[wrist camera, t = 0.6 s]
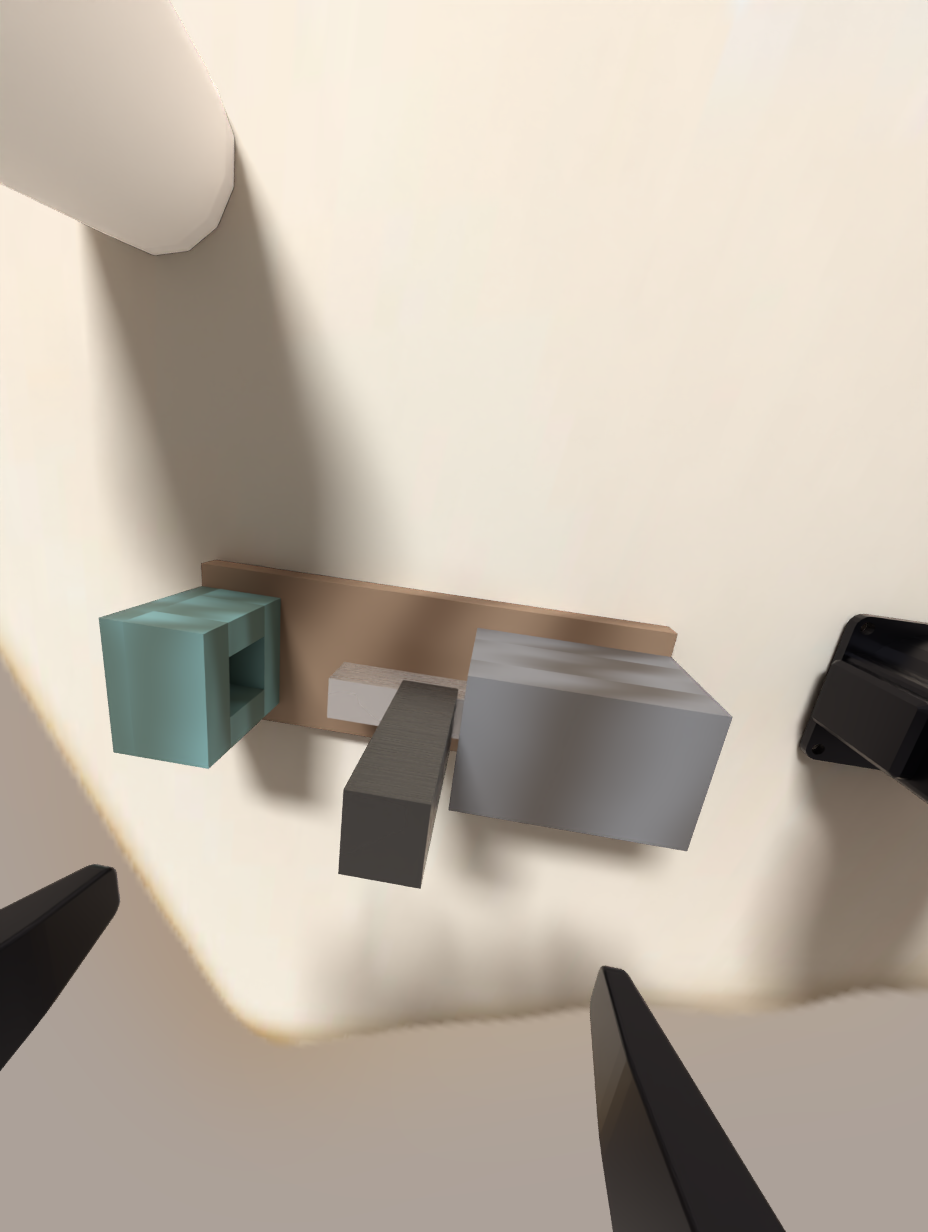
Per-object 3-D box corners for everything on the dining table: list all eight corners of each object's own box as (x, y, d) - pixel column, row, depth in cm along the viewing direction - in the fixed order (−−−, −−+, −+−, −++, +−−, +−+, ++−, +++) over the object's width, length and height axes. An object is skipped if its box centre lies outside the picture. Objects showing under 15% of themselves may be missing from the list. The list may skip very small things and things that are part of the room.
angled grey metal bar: (673, 703, 17) (806, 869, 9) (657, 758, 17) (769, 952, 10) (344, 652, 17) (227, 769, 10) (341, 707, 18) (230, 854, 11)
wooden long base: (668, 626, 19) (742, 686, 13) (629, 767, 20) (678, 874, 15) (215, 559, 19) (95, 587, 14) (220, 700, 21) (116, 776, 16)
